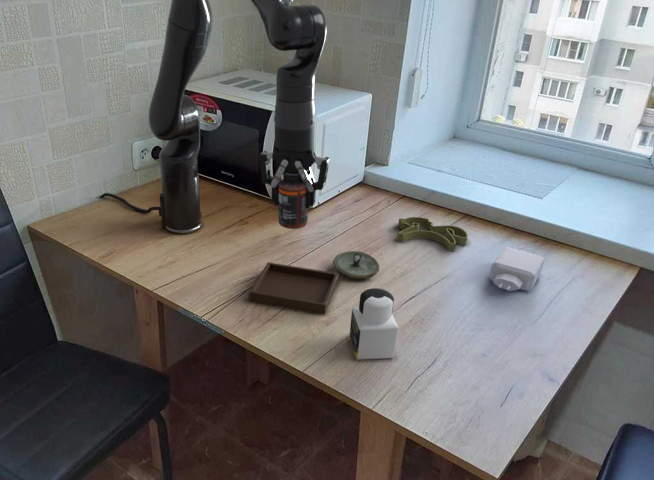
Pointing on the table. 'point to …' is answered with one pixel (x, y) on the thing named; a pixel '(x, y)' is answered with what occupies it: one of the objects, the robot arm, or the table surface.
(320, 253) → the table surface
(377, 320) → the medicine bottle
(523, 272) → the charger
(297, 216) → the supplement bottle
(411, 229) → the cookie cutter
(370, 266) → the antique brass shank button
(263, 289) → the tray
